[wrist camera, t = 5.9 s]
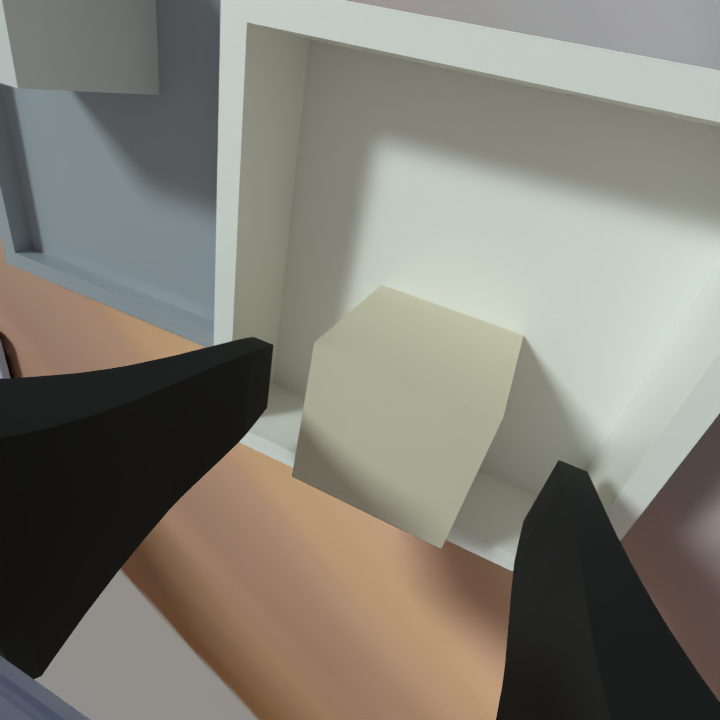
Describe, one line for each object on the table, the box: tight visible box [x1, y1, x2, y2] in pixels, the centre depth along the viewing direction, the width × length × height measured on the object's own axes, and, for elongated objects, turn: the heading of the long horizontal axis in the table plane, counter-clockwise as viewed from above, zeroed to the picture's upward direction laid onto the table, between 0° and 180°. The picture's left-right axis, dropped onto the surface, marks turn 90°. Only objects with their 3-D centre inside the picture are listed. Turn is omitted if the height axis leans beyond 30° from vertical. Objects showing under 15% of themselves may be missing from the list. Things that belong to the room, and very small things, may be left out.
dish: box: [214, 0, 720, 571], centre depth 11 cm, size 11×11×3 cm
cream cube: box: [292, 285, 524, 549], centre depth 12 cm, size 4×4×4 cm
